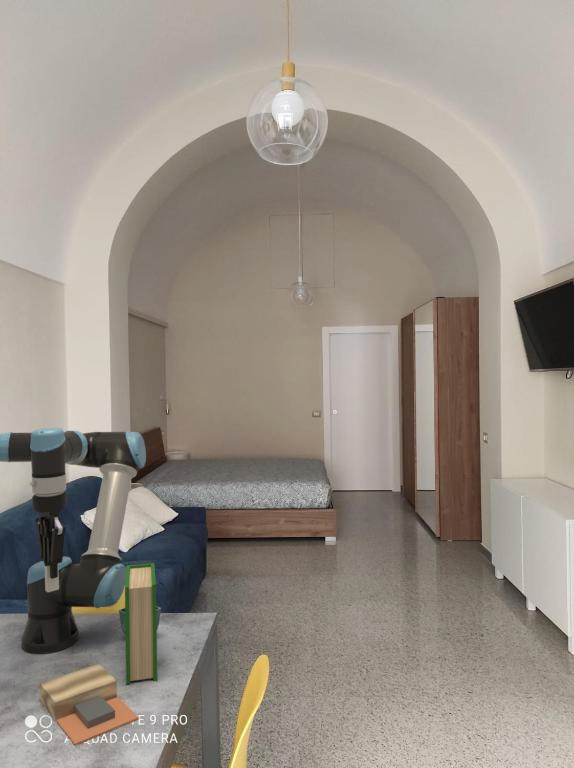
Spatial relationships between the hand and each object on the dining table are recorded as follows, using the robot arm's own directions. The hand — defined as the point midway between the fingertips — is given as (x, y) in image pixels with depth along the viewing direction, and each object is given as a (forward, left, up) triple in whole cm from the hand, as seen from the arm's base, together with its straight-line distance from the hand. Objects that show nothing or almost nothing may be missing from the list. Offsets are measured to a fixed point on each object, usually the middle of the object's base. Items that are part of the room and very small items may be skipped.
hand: (52, 589), depth 138 cm
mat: (+19, +3, -24) cm, 31 cm away
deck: (+8, +3, -24) cm, 26 cm away
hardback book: (+3, +21, -24) cm, 33 cm away
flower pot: (-12, +28, -24) cm, 39 cm away
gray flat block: (+18, +3, -24) cm, 30 cm away
